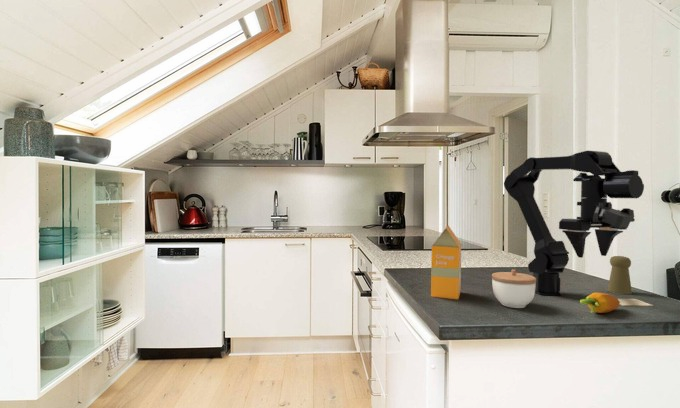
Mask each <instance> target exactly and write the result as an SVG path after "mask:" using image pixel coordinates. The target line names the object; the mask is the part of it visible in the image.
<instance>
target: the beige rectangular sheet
mask: <svg viewBox="0 0 680 408" xmlns="http://www.w3.org/2000/svg"><path fill="white" fill-rule="evenodd" d="M617 299H618V300H619V302H620V304H619V306H622V307H653V306H654V305H653V304H651V303H648V302H645V301H643V300H639V299H637V298H617Z"/></svg>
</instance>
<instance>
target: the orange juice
mask: <svg viewBox="0 0 680 408" xmlns="http://www.w3.org/2000/svg"><path fill="white" fill-rule="evenodd" d="M430 261H431V264H430V265H431V267H430V271H431V272H430V285H431V286H430V297H433V298H443V299H451V300H459V298H460V295H461V277H462V276H461V275H462V243H461V242H460V240H459V239H458V237H457V236H456V234H455V233H454V232H453V230H452V229H451V227H450V226H449V225H447V226H445V229H444V230H443V231H442V232H441V234H440V235H439V236H438V238H437V239H436V241H435V242H434V243H433V244H432V246H431V260H430Z"/></svg>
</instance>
